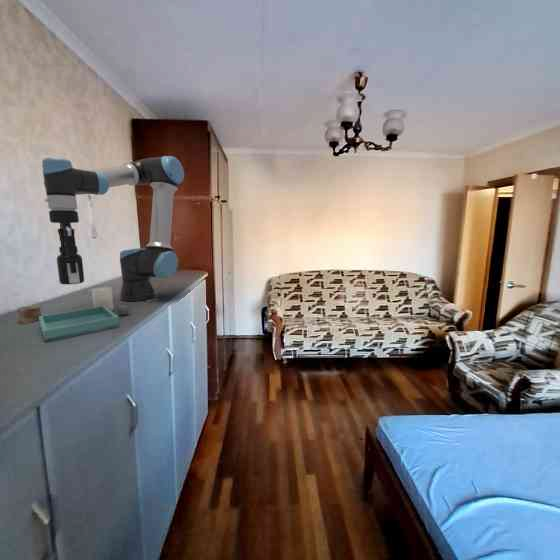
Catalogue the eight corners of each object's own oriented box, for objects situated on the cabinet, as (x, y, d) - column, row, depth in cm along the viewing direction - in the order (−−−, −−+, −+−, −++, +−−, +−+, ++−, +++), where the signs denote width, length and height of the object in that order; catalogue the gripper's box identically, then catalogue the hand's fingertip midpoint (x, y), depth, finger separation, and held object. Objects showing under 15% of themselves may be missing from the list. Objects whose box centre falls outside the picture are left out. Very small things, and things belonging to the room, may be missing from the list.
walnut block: (36, 318, 114) (34, 305, 113) (42, 320, 111) (39, 307, 110) (19, 322, 109) (17, 308, 109) (25, 324, 107) (22, 310, 106)
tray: (105, 314, 117) (104, 305, 116) (119, 326, 102) (118, 316, 102) (40, 326, 104) (38, 316, 103) (45, 342, 89) (43, 331, 89)
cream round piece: (111, 307, 128) (109, 286, 126) (116, 310, 123) (113, 288, 121) (92, 310, 123) (89, 288, 121) (96, 313, 118) (93, 291, 116)
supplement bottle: (72, 285, 96) (67, 247, 94) (54, 284, 98) (49, 247, 95) (89, 281, 103) (85, 245, 101) (72, 280, 104) (68, 245, 102)
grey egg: (128, 312, 119) (127, 303, 118) (131, 315, 116) (130, 304, 115) (116, 315, 116) (115, 304, 115) (119, 317, 113) (118, 306, 112)
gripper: (45, 211, 101) (55, 279, 105) (51, 208, 86) (63, 287, 90) (72, 211, 106) (80, 276, 110) (82, 208, 91) (92, 283, 95)
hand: (72, 281), depth 100 cm, fingers closed on supplement bottle, 7 cm apart
